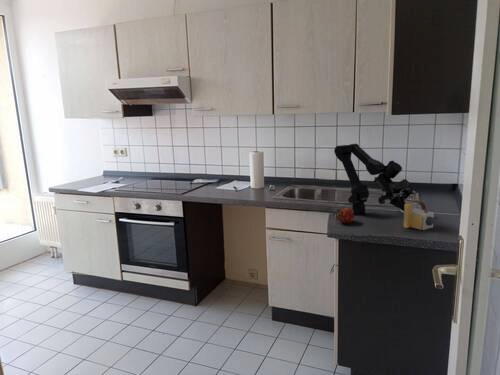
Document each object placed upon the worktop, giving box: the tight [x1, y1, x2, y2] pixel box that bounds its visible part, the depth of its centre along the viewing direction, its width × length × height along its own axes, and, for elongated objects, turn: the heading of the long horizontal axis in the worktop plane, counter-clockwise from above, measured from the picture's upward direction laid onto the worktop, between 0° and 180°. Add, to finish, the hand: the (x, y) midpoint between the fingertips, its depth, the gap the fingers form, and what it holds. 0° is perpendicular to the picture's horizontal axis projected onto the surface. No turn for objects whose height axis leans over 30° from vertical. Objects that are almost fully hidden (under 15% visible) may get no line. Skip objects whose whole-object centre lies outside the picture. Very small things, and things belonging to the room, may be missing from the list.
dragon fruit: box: [335, 206, 356, 224], centre depth 191 cm, size 8×8×12 cm
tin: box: [397, 197, 427, 214], centre depth 200 cm, size 15×3×8 cm, turn 35°
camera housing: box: [412, 209, 435, 231], centre depth 180 cm, size 11×7×8 cm, turn 30°
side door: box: [403, 203, 423, 231], centre depth 177 cm, size 7×4×11 cm, turn 30°
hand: (405, 210), depth 180 cm, fingers closed, pressing on side door
